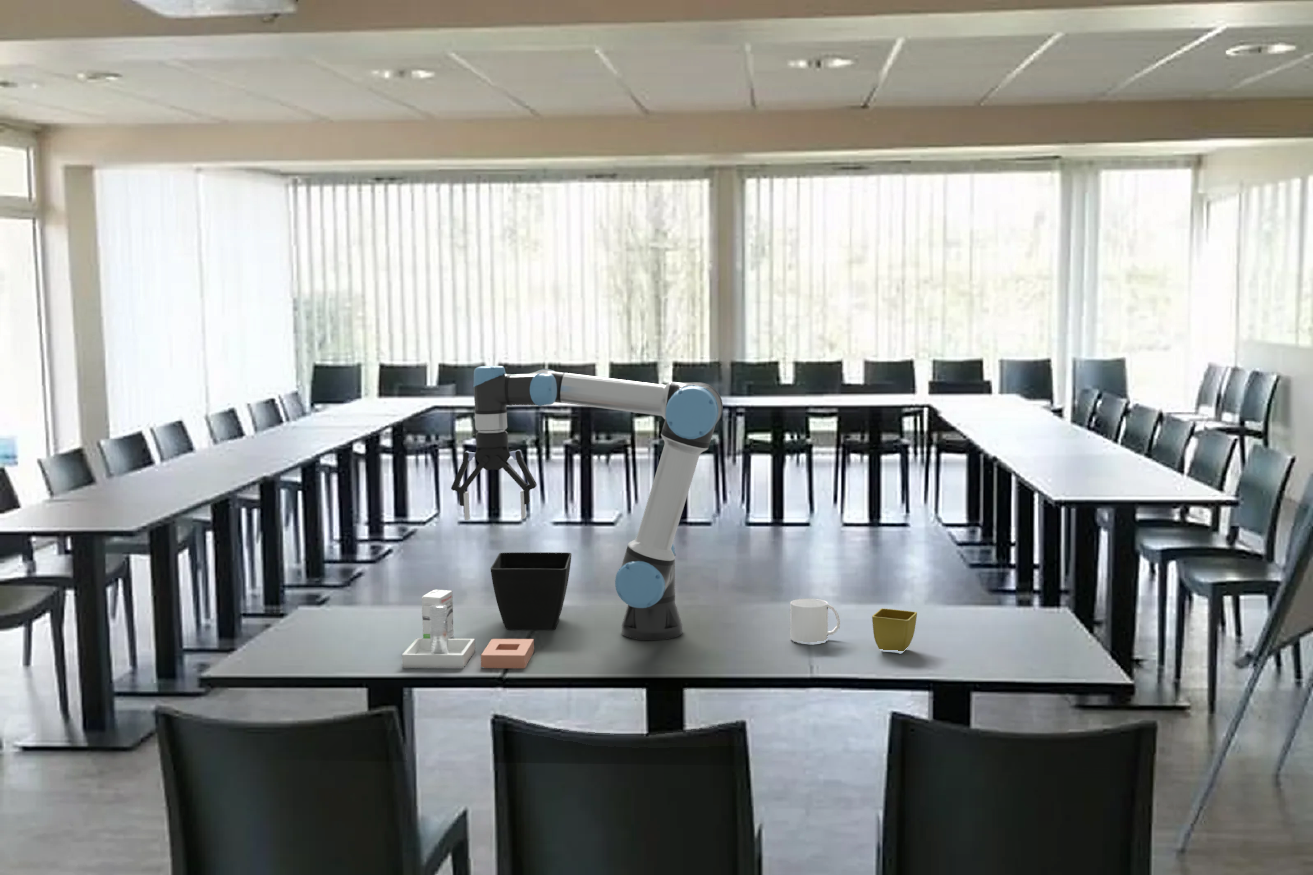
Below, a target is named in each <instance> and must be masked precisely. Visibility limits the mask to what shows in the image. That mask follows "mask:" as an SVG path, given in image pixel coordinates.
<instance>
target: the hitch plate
mask: <svg viewBox="0 0 1313 875" xmlns="http://www.w3.org/2000/svg"><path fill="white" fill-rule="evenodd" d="M534 640H535V639H534V638H491V639H490V641H489V642H488V644H487V646H486V647H485V648H484V649H483V652H482V653H481V655H480V668H481V667H484V668H483V669H526V667H527V665H528V663H529V662H530V660H531V658H532V657H533V654H534V652H535V641H534Z"/></svg>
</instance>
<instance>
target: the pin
mask: <svg viewBox="0 0 1313 875" xmlns="http://www.w3.org/2000/svg"><path fill="white" fill-rule="evenodd" d="M429 609H430V641H431V654H448V625H447V606H446V605H432V606H430V607H429Z"/></svg>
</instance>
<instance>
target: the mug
mask: <svg viewBox="0 0 1313 875" xmlns="http://www.w3.org/2000/svg"><path fill="white" fill-rule="evenodd" d="M789 608H790V609H789V611H790V619H789V620H790V622H789V623H790V624H789V625H790V628H789V630H790V634H789V638H791V639H792V640H794V641H803V642H817V641H824V640H826V639H827V638H828V639H829V636H832V635H834V634H836V633H837V632H838V630H840V627H841V620H840V616H839V613H838V612H837V610H836V609H835V607H834V606H833V605H830V604H829V602H828V601H826V600H824V599H820V598H819V599H817V598H798V599H793V600H791V601H790V606H789ZM829 609H830V610H832V612H833V613H834V616H835V619H836V626H835V627H834V628H833V629H832V630H829ZM827 636H828V637H827ZM791 639H790V640H791Z"/></svg>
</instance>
